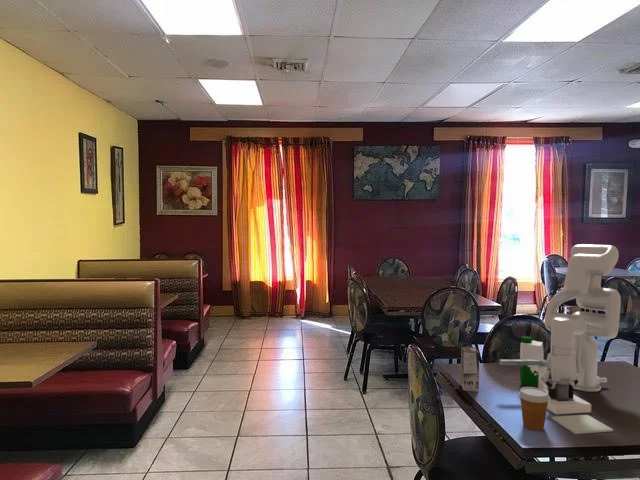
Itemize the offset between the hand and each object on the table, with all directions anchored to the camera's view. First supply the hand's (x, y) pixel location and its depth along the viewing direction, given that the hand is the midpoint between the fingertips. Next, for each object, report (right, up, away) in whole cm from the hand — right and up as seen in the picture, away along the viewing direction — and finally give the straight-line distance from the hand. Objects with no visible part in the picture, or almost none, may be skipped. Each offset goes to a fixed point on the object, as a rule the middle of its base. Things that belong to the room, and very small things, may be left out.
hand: (560, 397), depth 173 cm
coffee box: (-28, -3, +19) cm, 34 cm away
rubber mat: (-2, -4, -16) cm, 17 cm away
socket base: (0, -3, +3) cm, 5 cm away
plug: (0, -3, 0) cm, 3 cm away
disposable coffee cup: (-19, -4, -18) cm, 26 cm away
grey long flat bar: (-9, +10, +11) cm, 17 cm away
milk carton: (0, -3, +23) cm, 23 cm away
